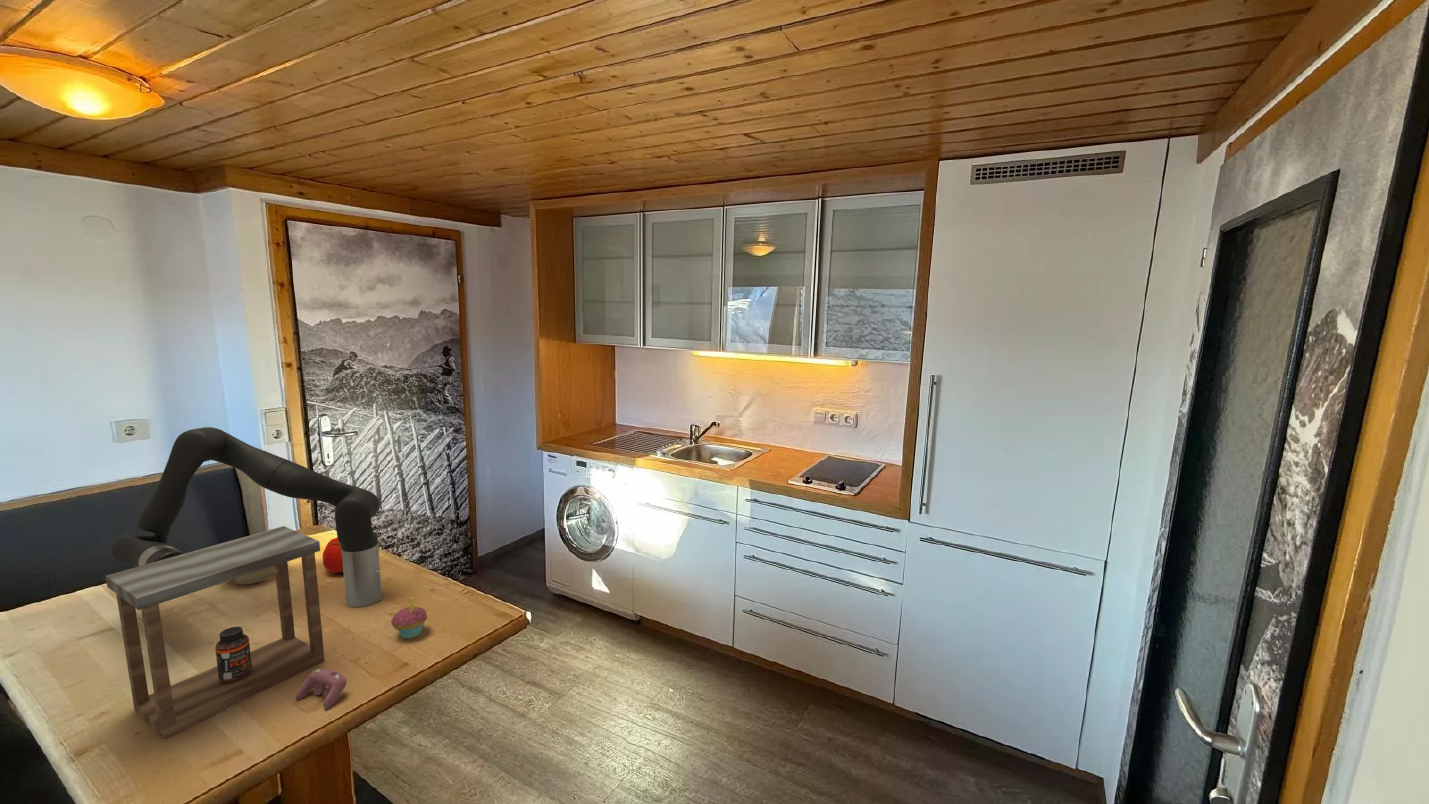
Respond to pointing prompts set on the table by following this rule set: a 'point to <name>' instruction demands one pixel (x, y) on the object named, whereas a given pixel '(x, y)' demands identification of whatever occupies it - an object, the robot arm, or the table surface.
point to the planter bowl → (256, 576)
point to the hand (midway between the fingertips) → (191, 577)
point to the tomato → (333, 556)
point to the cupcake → (409, 620)
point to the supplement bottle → (233, 655)
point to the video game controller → (323, 685)
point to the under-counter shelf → (207, 683)
